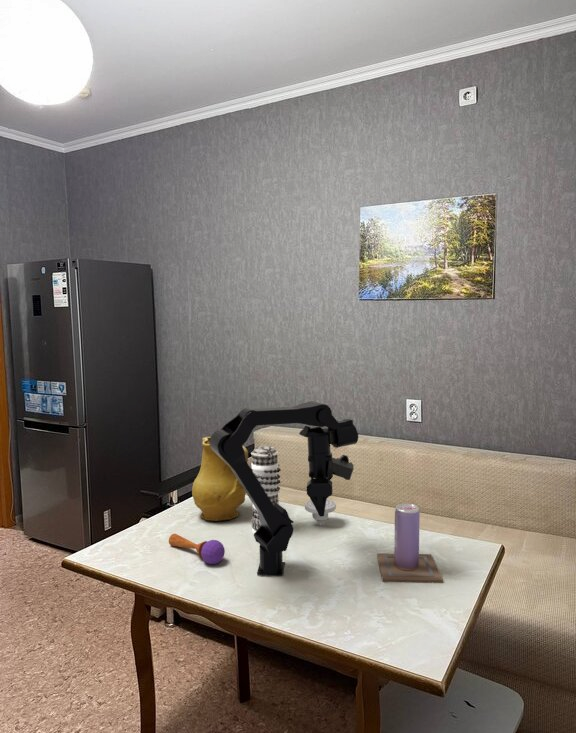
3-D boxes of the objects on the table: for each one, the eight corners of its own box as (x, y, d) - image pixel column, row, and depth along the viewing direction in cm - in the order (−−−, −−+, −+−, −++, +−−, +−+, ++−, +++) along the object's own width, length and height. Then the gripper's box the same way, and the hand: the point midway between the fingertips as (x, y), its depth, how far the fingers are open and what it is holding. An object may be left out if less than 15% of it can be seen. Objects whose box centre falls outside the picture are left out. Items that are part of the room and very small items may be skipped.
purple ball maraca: (182, 527, 152) (230, 540, 139) (181, 549, 151) (228, 564, 138) (165, 530, 148) (212, 543, 134) (163, 552, 147) (210, 568, 134)
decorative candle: (284, 524, 162) (282, 444, 160) (279, 537, 153) (277, 451, 151) (254, 523, 164) (252, 443, 161) (248, 535, 155) (245, 451, 152)
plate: (442, 582, 125) (442, 580, 125) (382, 581, 126) (382, 578, 126) (431, 556, 139) (431, 553, 139) (377, 555, 140) (377, 552, 140)
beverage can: (420, 572, 130) (421, 512, 128) (395, 571, 130) (396, 511, 129) (416, 560, 136) (417, 503, 134) (393, 559, 136) (393, 502, 135)
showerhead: (305, 507, 157) (303, 496, 166) (306, 531, 157) (304, 518, 167) (337, 506, 157) (333, 495, 167) (338, 530, 157) (334, 517, 167)
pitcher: (237, 502, 182) (235, 430, 180) (255, 521, 165) (253, 442, 163) (187, 510, 176) (184, 435, 174) (200, 531, 159) (198, 448, 156)
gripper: (351, 461, 127) (354, 523, 129) (350, 440, 145) (352, 495, 147) (304, 462, 128) (308, 524, 130) (309, 441, 146) (312, 495, 148)
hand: (322, 508), depth 139 cm, fingers open, 9 cm apart
